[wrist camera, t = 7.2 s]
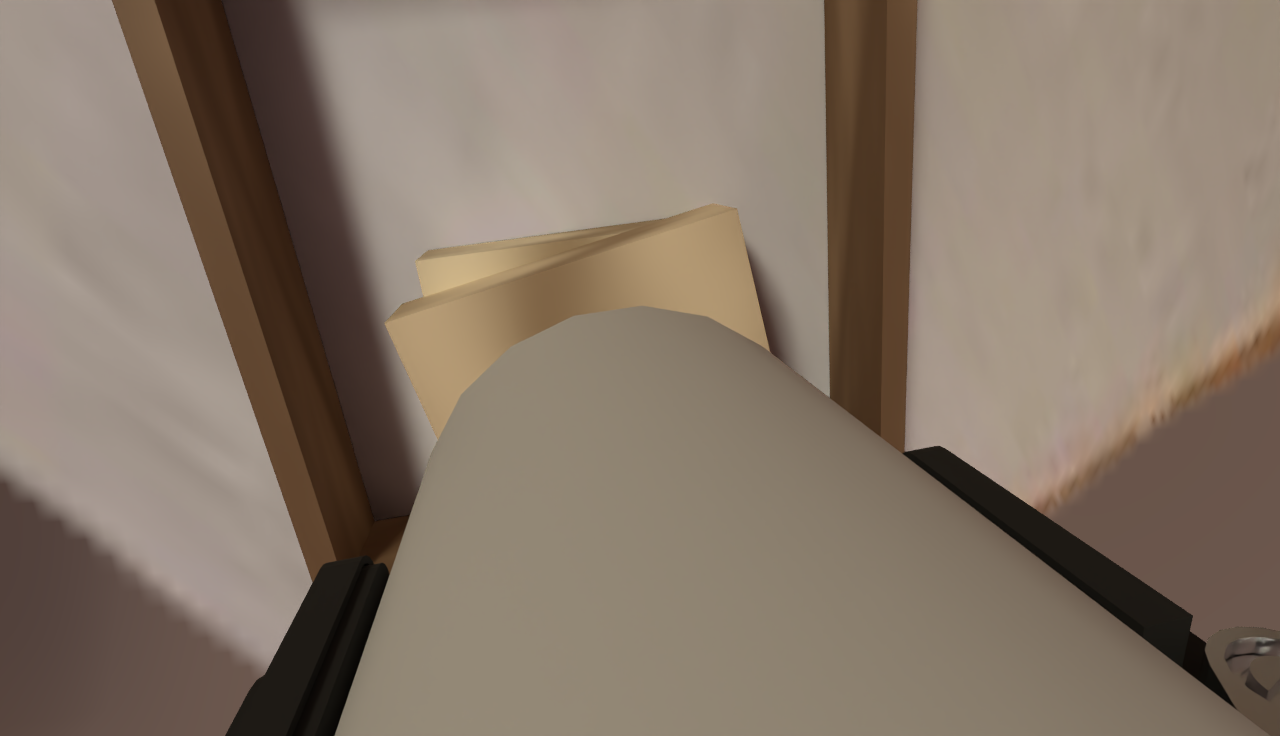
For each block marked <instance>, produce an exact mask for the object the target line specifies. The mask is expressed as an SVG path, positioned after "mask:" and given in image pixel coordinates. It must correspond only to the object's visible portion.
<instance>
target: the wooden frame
mask: <svg viewBox="0 0 1280 736" xmlns="http://www.w3.org/2000/svg"><path fill="white" fill-rule="evenodd" d="M112 2H113V5H114V8H115V11H116V14H117V16H118V19H119V22H120V25H121V28H122V31H123V34H124V37H125V40H126V43H127V45H128V48H129V51H130V54H131V57H132V60H133V63H134V66H135V69H136V72H137V74H138V77H139V80H140V83H141V86H142V89H143V92H144V95H145V98H146V101H147V103H148V106H149V109H150V112H151V115H152V118H153V121H154V124H155V127H156V130H157V132H158V135H159V138H160V141H161V144H162V147H163V150H164V153H165V156H166V159H167V161H168V164H169V167H170V170H171V173H172V176H173V179H174V182H175V185H176V188H177V190H178V193H179V196H180V199H181V202H182V205H183V208H184V211H185V214H186V216H187V219H188V222H189V225H190V228H191V231H192V234H193V237H194V240H195V243H196V245H197V248H198V251H199V254H200V257H201V260H202V263H203V266H204V269H205V272H206V274H207V277H208V280H209V283H210V286H211V289H212V292H213V295H214V298H215V301H216V303H217V306H218V309H219V312H220V315H221V318H222V321H223V324H224V327H225V330H226V332H227V335H228V338H229V341H230V344H231V347H232V350H233V353H234V356H235V359H236V361H237V364H238V367H239V370H240V373H241V376H242V379H243V382H244V385H245V388H246V390H247V393H248V396H249V399H250V402H251V405H252V408H253V411H254V414H255V417H256V419H257V422H258V425H259V428H260V431H261V434H262V437H263V440H264V443H265V446H266V448H267V451H268V454H269V457H270V460H271V463H272V466H273V469H274V472H275V474H276V477H277V480H278V483H279V486H280V489H281V492H282V495H283V498H284V501H285V503H286V506H287V509H288V512H289V515H290V518H291V521H292V524H293V527H294V530H295V532H296V535H297V538H298V541H299V544H300V547H301V550H302V553H303V556H304V559H305V561H306V564H307V567H308V570H309V573H310V576H311V579H312V582H313V581H314V579H315V578H316V576H317V574H318V572H319V570H320V568H321V567H322V565H323V564H325V563H328V562H334V561H339V560H344V559H349V558H354V557H360V556H365V555H367V556H369V557H370V558H371V559H372V561H373V563H374V564H378V563H384V564H385V565H386V566H387V568H388V571H389V574H390V573H391V570H392V567H393V564H394V561H395V558H396V555H397V552H398V549H399V546H400V543H401V540H402V538H403V535H404V532H405V529H406V526H407V523H408V520H409V517H410V515H407V516H402V517H396V518H391V519H385V520H380V521H374V518H373V515H372V511H371V508H370V504H369V501H368V498H367V494H366V491H365V487H364V484H363V481H362V477H361V474H360V470H359V467H358V464H357V460H356V457H355V453H354V450H353V447H352V443H351V440H350V436H349V433H348V430H347V426H346V423H345V419H344V416H343V413H342V409H341V406H340V402H339V399H338V396H337V392H336V389H335V385H334V382H333V379H332V375H331V372H330V368H329V365H328V362H327V358H326V355H325V351H324V348H323V345H322V341H321V338H320V334H319V331H318V328H317V324H316V321H315V317H314V314H313V311H312V307H311V304H310V300H309V297H308V294H307V290H306V287H305V284H304V280H303V277H302V273H301V270H300V267H299V263H298V260H297V256H296V253H295V250H294V246H293V243H292V239H291V236H290V233H289V229H288V226H287V222H286V219H285V216H284V212H283V209H282V205H281V202H280V199H279V195H278V192H277V188H276V185H275V182H274V178H273V175H272V171H271V168H270V165H269V161H268V158H267V154H266V151H265V148H264V144H263V141H262V137H261V134H260V131H259V127H258V124H257V120H256V117H255V114H254V110H253V107H252V103H251V100H250V97H249V93H248V90H247V86H246V83H245V80H244V76H243V73H242V69H241V66H240V63H239V59H238V56H237V52H236V49H235V46H234V42H233V39H232V35H231V32H230V29H229V25H228V22H227V18H226V15H225V12H224V8H223V5H222V1H221V0H112ZM824 9H825V79H826V149H827V219H828V289H829V359H830V399H832V400H833V401H834V402H836V403H837V404H838V405H839V406H841V407H842V408H843V409H845V410H846V411H847V412H849V413H850V414H851V415H852V416H854V417H855V418H856V419H858V420H859V421H860V422H862V423H863V424H864V425H866V426H867V427H868V428H869V429H871V430H872V431H873V432H875V433H876V434H877V435H879V436H880V437H881V438H882V439H884V440H885V441H886V442H888V443H889V444H890V445H892V446H893V447H894V448H896V449H897V450H898V451H899V452H901V453H904V445H905V410H906V376H907V341H908V306H909V272H910V237H911V203H912V168H913V133H914V99H915V64H916V29H917V0H824Z"/></svg>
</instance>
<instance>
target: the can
mask: <svg viewBox="0 0 1280 736" xmlns="http://www.w3.org/2000/svg"><path fill="white" fill-rule="evenodd" d="M335 736H1270V735H1269V734H1267V733H1266V732H1265V731H1263V730H1262V729H1261V728H1259V727H1258V726H1257V725H1256V724H1254V723H1253V722H1252V721H1250V720H1249V719H1248V718H1246V717H1245V716H1244V715H1242V714H1241V713H1240V712H1239V711H1237V710H1236V709H1235V708H1233V707H1232V706H1231V705H1229V704H1228V703H1227V702H1226V701H1224V700H1223V699H1222V698H1220V697H1219V696H1218V695H1216V694H1215V693H1214V692H1212V691H1211V690H1210V689H1209V688H1207V687H1206V686H1205V685H1203V684H1202V683H1201V682H1199V681H1198V680H1197V679H1196V678H1194V677H1193V676H1192V675H1190V674H1189V673H1188V672H1186V671H1185V670H1184V669H1182V668H1181V667H1180V666H1179V665H1177V664H1176V663H1175V662H1173V661H1172V660H1171V659H1169V658H1168V657H1167V656H1166V655H1164V654H1163V653H1162V652H1160V651H1159V650H1158V649H1156V648H1155V647H1154V646H1152V645H1151V644H1150V643H1149V642H1147V641H1146V640H1145V639H1143V638H1142V637H1141V636H1139V635H1138V634H1137V633H1136V632H1134V631H1133V630H1132V629H1130V628H1129V627H1128V626H1126V625H1125V624H1124V623H1122V622H1121V621H1120V620H1119V619H1117V618H1116V617H1115V616H1113V615H1112V614H1111V613H1109V612H1108V611H1107V610H1106V609H1104V608H1103V607H1102V606H1100V605H1099V604H1098V603H1096V602H1095V601H1094V600H1092V599H1091V598H1090V597H1089V596H1087V595H1086V594H1085V593H1083V592H1082V591H1081V590H1079V589H1078V588H1077V587H1076V586H1074V585H1073V584H1072V583H1070V582H1069V581H1068V580H1066V579H1065V578H1064V577H1062V576H1061V575H1060V574H1059V573H1057V572H1056V571H1055V570H1053V569H1052V568H1051V567H1049V566H1048V565H1047V564H1046V563H1044V562H1043V561H1042V560H1040V559H1039V558H1038V557H1036V556H1035V555H1034V554H1032V553H1031V552H1030V551H1029V550H1027V549H1026V548H1025V547H1023V546H1022V545H1021V544H1019V543H1018V542H1017V541H1016V540H1014V539H1013V538H1012V537H1010V536H1009V535H1008V534H1006V533H1005V532H1004V531H1002V530H1001V529H1000V528H999V527H997V526H996V525H995V524H993V523H992V522H991V521H989V520H988V519H987V518H986V517H984V516H983V515H982V514H980V513H979V512H978V511H976V510H975V509H974V508H972V507H971V506H970V505H969V504H967V503H966V502H965V501H963V500H962V499H961V498H959V497H958V496H957V495H956V494H954V493H953V492H952V491H950V490H949V489H948V488H946V487H945V486H944V485H942V484H941V483H940V482H939V481H937V480H936V479H935V478H933V477H932V476H931V475H929V474H928V473H927V472H926V471H924V470H923V469H922V468H920V467H919V466H918V465H916V464H915V463H914V462H912V461H911V460H910V459H909V458H907V457H906V456H905V455H903V454H902V453H901V452H899V451H898V450H897V449H896V448H894V447H893V446H892V445H890V444H889V443H888V442H886V441H885V440H884V439H882V438H881V437H880V436H879V435H877V434H876V433H875V432H873V431H872V430H871V429H869V428H868V427H867V426H866V425H864V424H863V423H862V422H860V421H859V420H858V419H856V418H855V417H854V416H852V415H851V414H850V413H849V412H847V411H846V410H845V409H843V408H842V407H841V406H839V405H838V404H837V403H836V402H834V401H833V400H832V399H830V398H829V397H828V396H826V395H825V394H824V393H822V392H821V391H820V390H819V389H817V388H816V387H815V386H813V385H812V384H811V383H809V382H808V381H807V380H806V379H804V378H803V377H802V376H800V375H799V374H798V373H796V372H795V371H794V370H792V369H791V368H790V367H789V366H787V365H786V364H785V363H783V362H782V361H781V360H779V359H778V358H777V357H776V356H774V355H773V354H772V353H770V352H769V351H768V350H766V349H765V348H764V347H762V346H761V345H759V344H757V343H755V342H754V341H752V340H750V339H748V338H746V337H744V336H743V335H741V334H739V333H737V332H735V331H733V330H731V329H730V328H728V327H726V326H724V325H722V324H720V323H719V322H717V321H715V320H713V319H711V318H709V317H707V316H701V315H695V314H690V313H684V312H678V311H672V310H666V309H660V308H654V307H648V306H636V307H630V308H623V309H616V310H610V311H603V312H596V313H589V314H583V315H576V316H572V317H570V318H568V319H566V320H564V321H562V322H560V323H558V324H556V325H554V326H552V327H550V328H548V329H546V330H544V331H542V332H540V333H538V334H536V335H534V336H531V337H529V338H527V339H525V340H523V341H521V342H519V343H517V344H515V345H513V346H511V347H510V348H509V349H508V350H507V351H506V352H505V353H504V354H502V355H501V356H500V357H499V358H498V359H497V360H496V361H495V362H494V363H493V364H492V365H491V366H490V367H489V368H488V369H487V370H486V371H485V372H484V373H483V374H482V375H481V376H480V377H479V378H478V379H477V380H476V381H475V382H473V383H472V384H471V385H470V386H469V387H468V388H467V389H466V390H465V391H464V392H463V393H462V394H461V396H460V398H459V400H458V402H457V404H456V406H455V408H454V409H453V411H452V413H451V415H450V417H449V419H448V421H447V423H446V425H445V427H444V429H443V431H442V433H441V435H440V437H439V439H438V441H437V443H436V445H435V447H434V449H433V451H432V453H431V456H430V459H429V462H428V465H427V468H426V470H425V473H424V476H423V479H422V482H421V485H420V488H419V491H418V494H417V497H416V500H415V503H414V505H413V508H412V511H411V514H410V517H409V520H408V523H407V526H406V529H405V532H404V535H403V538H402V540H401V543H400V546H399V549H398V552H397V555H396V558H395V561H394V564H393V567H392V570H391V573H390V575H389V578H388V581H387V584H386V587H385V590H384V593H383V596H382V599H381V602H380V605H379V608H378V610H377V613H376V616H375V619H374V622H373V625H372V628H371V631H370V634H369V637H368V640H367V643H366V645H365V648H364V651H363V654H362V657H361V660H360V663H359V666H358V669H357V672H356V675H355V678H354V680H353V683H352V686H351V689H350V692H349V695H348V698H347V701H346V704H345V707H344V710H343V713H342V715H341V718H340V721H339V724H338V727H337V730H336V733H335Z"/></svg>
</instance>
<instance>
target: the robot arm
mask: <svg viewBox="0 0 1280 736" xmlns="http://www.w3.org/2000/svg"><path fill="white" fill-rule="evenodd" d="M902 454H903V455H905V456H906V457H907V458H909V459H910V460H911V461H912V462H914V463H915V464H916V465H918V466H919V467H920V468H922V469H923V470H924V471H926V472H927V473H928V474H929V475H931V476H932V477H933V478H935V479H936V480H937V481H939V482H940V483H941V484H942V485H944V486H945V487H946V488H948V489H949V490H950V491H952V492H953V493H954V494H956V495H957V496H958V497H959V498H961V499H962V500H963V501H965V502H966V503H967V504H969V505H970V506H971V507H972V508H974V509H975V510H976V511H978V512H979V513H980V514H982V515H983V516H984V517H986V518H987V519H988V520H989V521H991V522H992V523H993V524H995V525H996V526H997V527H999V528H1000V529H1001V530H1002V531H1004V532H1005V533H1006V534H1008V535H1009V536H1010V537H1012V538H1013V539H1014V540H1016V541H1017V542H1018V543H1019V544H1021V545H1022V546H1023V547H1025V548H1026V549H1027V550H1029V551H1030V552H1031V553H1032V554H1034V555H1035V556H1036V557H1038V558H1039V559H1040V560H1042V561H1043V562H1044V563H1046V564H1047V565H1048V566H1049V567H1051V568H1052V569H1053V570H1055V571H1056V572H1057V573H1059V574H1060V575H1061V576H1062V577H1064V578H1065V579H1066V580H1068V581H1069V582H1070V583H1072V584H1073V585H1074V586H1076V587H1077V588H1078V589H1079V590H1081V591H1082V592H1083V593H1085V594H1086V595H1087V596H1089V597H1090V598H1091V599H1092V600H1094V601H1095V602H1096V603H1098V604H1099V605H1100V606H1102V607H1103V608H1104V609H1106V610H1107V611H1108V612H1109V613H1111V614H1112V615H1113V616H1115V617H1116V618H1117V619H1119V620H1120V621H1121V622H1122V623H1124V624H1125V625H1126V626H1128V627H1129V628H1130V629H1132V630H1133V631H1134V632H1136V633H1137V634H1138V635H1139V636H1141V637H1142V638H1143V639H1145V640H1146V641H1147V642H1149V643H1150V644H1151V645H1152V646H1154V647H1155V648H1156V649H1158V650H1159V651H1160V652H1162V653H1163V654H1164V655H1166V656H1167V657H1168V658H1169V659H1171V660H1172V661H1173V662H1175V663H1176V664H1177V665H1179V666H1180V667H1181V668H1182V669H1184V670H1185V671H1186V672H1188V673H1189V674H1190V675H1192V676H1193V677H1194V678H1196V679H1197V680H1198V681H1199V682H1201V683H1202V684H1203V685H1205V686H1206V687H1207V688H1209V689H1210V690H1211V691H1212V692H1214V693H1215V694H1216V695H1218V696H1219V697H1220V698H1222V699H1223V700H1224V701H1226V702H1227V703H1228V704H1229V705H1231V706H1232V707H1233V708H1235V709H1236V710H1237V711H1239V712H1240V713H1241V714H1242V715H1244V716H1245V717H1246V718H1248V719H1249V720H1250V721H1252V722H1253V723H1254V724H1256V725H1257V726H1258V727H1259V728H1261V729H1262V730H1263V731H1265V732H1266V733H1267V734H1269V735H1270V736H1280V631H1276V630H1271V629H1266V628H1257V627H1234V628H1229V629H1224V630H1220V631H1218V632H1217V633H1215V634H1214V635H1212V636H1211V637H1209V638H1208V641H1207V643H1205V642H1204V641H1203V640H1201V639H1200V638H1199V637H1197V636H1196V635H1194V634H1193V633H1191V632H1190V626H1191V622H1192V618H1193V615H1191V614H1189V613H1188V612H1186V611H1185V610H1184V609H1182V608H1181V607H1179V606H1178V605H1176V604H1175V603H1173V602H1172V601H1170V600H1169V599H1167V598H1166V597H1164V596H1163V595H1161V594H1160V593H1158V592H1157V591H1156V590H1154V589H1153V588H1151V587H1150V586H1148V585H1147V584H1145V583H1144V582H1142V581H1141V580H1139V579H1138V578H1136V577H1135V576H1133V575H1132V574H1130V573H1129V572H1127V571H1126V570H1124V569H1123V568H1121V567H1120V566H1119V565H1117V564H1116V563H1114V562H1113V561H1111V560H1109V559H1108V558H1106V557H1105V556H1104V555H1102V554H1101V553H1099V552H1098V551H1096V550H1095V549H1093V548H1092V547H1090V546H1089V545H1087V544H1086V543H1084V542H1083V541H1081V540H1080V539H1078V538H1077V537H1076V536H1074V535H1072V534H1071V533H1069V532H1068V531H1067V530H1065V529H1063V528H1062V527H1061V526H1059V525H1058V524H1056V523H1055V522H1053V521H1052V520H1050V519H1049V518H1047V517H1046V516H1044V515H1043V514H1041V513H1040V512H1038V511H1037V510H1036V509H1034V508H1033V507H1031V506H1030V505H1028V504H1027V503H1025V502H1024V501H1022V500H1021V499H1019V498H1018V497H1016V496H1015V495H1013V494H1012V493H1010V492H1009V491H1007V490H1006V489H1004V488H1003V487H1001V486H1000V485H998V484H997V483H996V482H994V481H993V480H991V479H990V478H988V477H987V476H985V475H984V474H982V473H981V472H979V471H978V470H976V469H975V468H973V467H972V466H970V465H969V464H967V463H966V462H964V461H963V460H961V459H960V458H958V457H957V456H956V455H954V454H953V453H951V452H950V451H948V450H947V449H945V448H943V447H941V446H934V447H929V448H924V449H918V450H913V451H908V452H904V453H902ZM389 575H390V574H389V571H388V568H387V566H386V565H385V564H384V563H378V564H374V563H373V561H372V559H371V558H370V557H369V556H367V555H365V556H360V557H354V558H349V559H344V560H339V561H334V562H328V563H325V564H323V565H322V567H321V568H320V570H319V572H318V574H317V576H316V578H315V579H314V581H313V583H312V585H311V587H310V589H309V591H308V593H307V595H306V597H305V599H304V601H303V602H302V604H301V606H300V608H299V610H298V612H297V614H296V616H295V618H294V620H293V622H292V624H291V626H290V627H289V629H288V631H287V633H286V635H285V637H284V639H283V641H282V643H281V645H280V647H279V649H278V651H277V652H276V654H275V656H274V658H273V660H272V662H271V664H270V666H269V668H268V670H267V672H266V674H265V675H264V676H262V677H261V678H259V679H258V680H256V682H255V683H254V685H253V686H252V687H251V689H250V690H249V692H248V694H247V696H246V698H245V700H244V701H243V704H242V705H241V707H240V709H239V711H238V713H237V715H236V717H235V718H234V720H233V722H232V724H231V726H230V728H229V729H228V732H227V733H226V735H225V736H335V733H336V730H337V727H338V724H339V721H340V718H341V715H342V713H343V710H344V707H345V704H346V701H347V698H348V695H349V692H350V689H351V686H352V683H353V680H354V678H355V675H356V672H357V669H358V666H359V663H360V660H361V657H362V654H363V651H364V648H365V645H366V643H367V640H368V637H369V634H370V631H371V628H372V625H373V622H374V619H375V616H376V613H377V610H378V608H379V605H380V602H381V599H382V596H383V593H384V590H385V587H386V584H387V581H388V578H389Z"/></svg>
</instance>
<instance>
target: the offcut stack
mask: <svg viewBox="0 0 1280 736" xmlns="http://www.w3.org/2000/svg"><path fill="white" fill-rule="evenodd" d="M415 263H416V267H417V271H418V275H419V280H420V284H421V288H422V293H423V297H422V298H419V299H416V300H413V301H410V302H407V303H403V304H402V305H401V306H400V307H399V308H398V309H397V310H396V311H395V312H394V313H393V314H392V316H391V317H390V318H389V319H388V320H387V321H386V322H385V326H386V328H387V330H388V332H389V334H390V337H391V339H392V341H393V343H394V345H395V347H396V350H397V352H398V354H399V356H400V358H401V361H402V363H403V365H404V367H405V369H406V371H407V374H408V376H409V378H410V380H411V382H412V385H413V387H414V389H415V391H416V393H417V395H418V398H419V400H420V402H421V404H422V406H423V409H424V411H425V413H426V415H427V417H428V419H429V422H430V424H431V426H432V428H433V430H434V433H435V435H436V437H437V439H439V437H440V435H441V433H442V431H443V429H444V427H445V425H446V423H447V421H448V419H449V417H450V415H451V413H452V411H453V409H454V408H455V406H456V404H457V402H458V400H459V398H460V396H461V394H462V393H463V392H464V391H465V390H466V389H467V388H468V387H469V386H470V385H471V384H472V383H473V382H475V381H476V380H477V379H478V378H479V377H480V376H481V375H482V374H483V373H484V372H485V371H486V370H487V369H488V368H489V367H490V366H491V365H492V364H493V363H494V362H495V361H496V360H497V359H498V358H499V357H500V356H501V355H502V354H504V353H505V352H506V351H507V350H508V349H509V348H510V347H511V346H513V345H515V344H517V343H519V342H521V341H523V340H525V339H527V338H529V337H531V336H534V335H536V334H538V333H540V332H542V331H544V330H546V329H548V328H550V327H552V326H554V325H556V324H558V323H560V322H562V321H564V320H566V319H568V318H570V317H572V316H576V315H583V314H589V313H596V312H603V311H610V310H616V309H623V308H630V307H636V306H648V307H654V308H660V309H666V310H672V311H678V312H684V313H690V314H695V315H701V316H707V317H709V318H711V319H713V320H715V321H717V322H719V323H720V324H722V325H724V326H726V327H728V328H730V329H731V330H733V331H735V332H737V333H739V334H741V335H743V336H744V337H746V338H748V339H750V340H752V341H754V342H755V343H757V344H759V345H761V346H762V347H764V348H765V349H766V350H768V351H769V352H770V349H769V345H768V341H767V336H766V332H765V328H764V323H763V319H762V315H761V311H760V306H759V302H758V298H757V293H756V289H755V285H754V280H753V276H752V272H751V267H750V263H749V259H748V254H747V250H746V246H745V242H744V237H743V233H742V229H741V224H740V220H739V216H738V211H737V209H736V208H731V207H727V206H722V205H718V204H710V205H706V206H703V207H700V208H697V209H694V210H691V211H688V212H685V213H682V214H679V215H676V216H672V217H669V218H666V219H659V220H652V221H644V222H637V223H629V224H622V225H614V226H607V227H599V228H592V229H585V230H577V231H570V232H562V233H555V234H547V235H540V236H532V237H525V238H517V239H510V240H502V241H495V242H487V243H480V244H472V245H465V246H458V247H450V248H443V249H435V250H428V251H427V252H426V253H424V254H423V255H422V256H421V257H420V258H418V259H417V260H416V261H415Z"/></svg>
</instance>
